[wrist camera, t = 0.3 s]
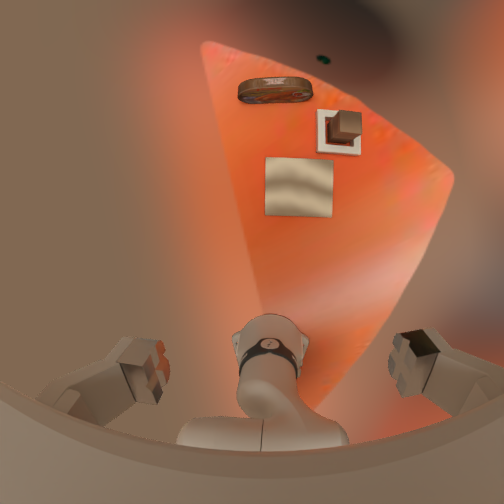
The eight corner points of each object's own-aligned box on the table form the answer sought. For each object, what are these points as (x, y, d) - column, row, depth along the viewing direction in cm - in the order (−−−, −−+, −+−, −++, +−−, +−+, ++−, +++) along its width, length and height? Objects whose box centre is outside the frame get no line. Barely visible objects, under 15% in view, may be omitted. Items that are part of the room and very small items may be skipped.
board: (330, 216, 56) (331, 217, 55) (265, 214, 57) (264, 215, 56) (332, 160, 53) (333, 160, 52) (265, 157, 54) (265, 157, 53)
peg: (345, 143, 52) (362, 134, 40) (327, 142, 52) (340, 131, 41) (345, 126, 51) (361, 112, 39) (327, 124, 51) (339, 109, 40)
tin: (240, 105, 52) (234, 93, 44) (240, 92, 51) (234, 78, 43) (311, 102, 51) (316, 90, 42) (309, 89, 50) (314, 75, 42)
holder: (356, 156, 52) (360, 154, 49) (315, 152, 53) (318, 151, 50) (355, 116, 50) (359, 113, 47) (315, 112, 51) (317, 109, 48)
